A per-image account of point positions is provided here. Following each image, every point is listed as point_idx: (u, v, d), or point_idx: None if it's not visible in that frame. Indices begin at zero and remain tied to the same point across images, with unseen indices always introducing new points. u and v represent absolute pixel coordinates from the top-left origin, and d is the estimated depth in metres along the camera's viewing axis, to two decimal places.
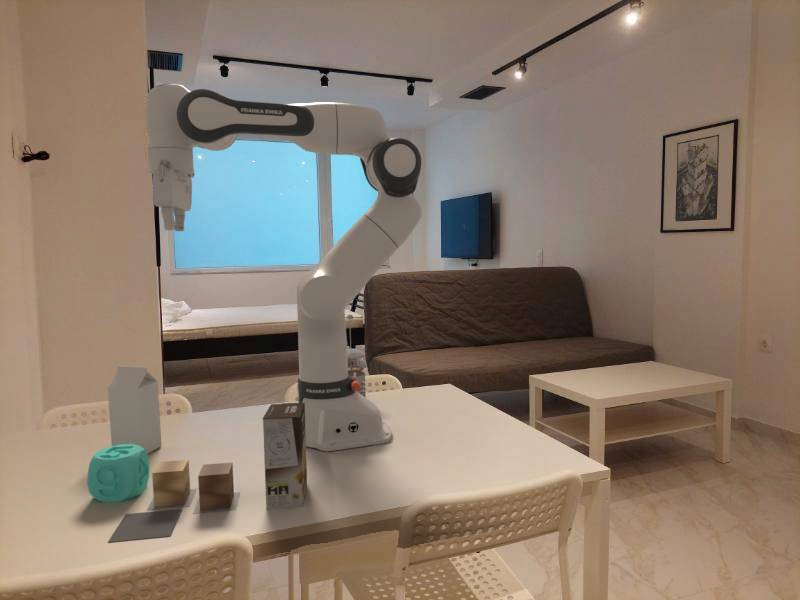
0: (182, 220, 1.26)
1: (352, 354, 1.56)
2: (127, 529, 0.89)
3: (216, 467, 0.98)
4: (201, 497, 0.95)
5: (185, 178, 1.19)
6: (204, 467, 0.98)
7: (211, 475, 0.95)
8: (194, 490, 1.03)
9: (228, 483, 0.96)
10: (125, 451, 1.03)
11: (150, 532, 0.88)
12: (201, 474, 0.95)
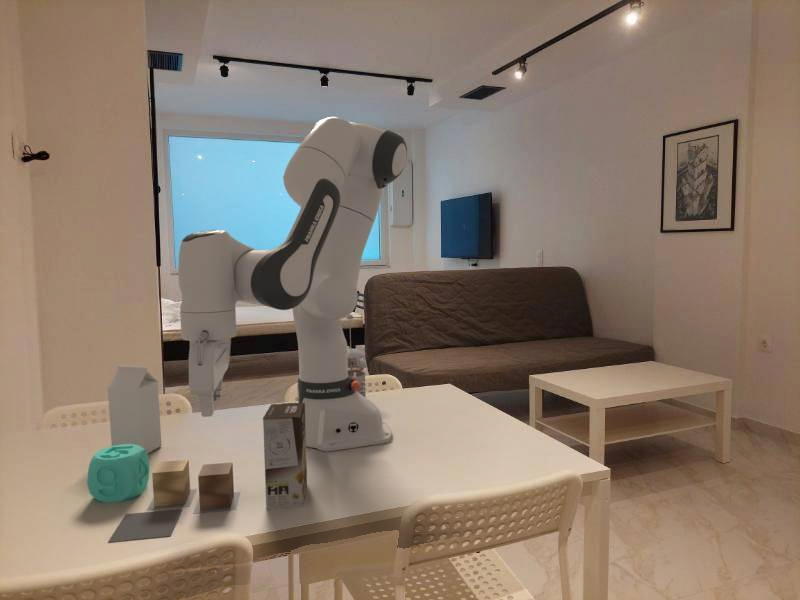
0: (219, 386, 1.01)
1: (352, 354, 1.56)
2: (127, 529, 0.89)
3: (216, 467, 0.98)
4: (201, 497, 0.95)
5: (226, 344, 0.95)
6: (204, 467, 0.98)
7: (211, 475, 0.95)
8: (194, 490, 1.03)
9: (228, 483, 0.96)
10: (125, 451, 1.03)
11: (150, 532, 0.88)
12: (201, 474, 0.95)
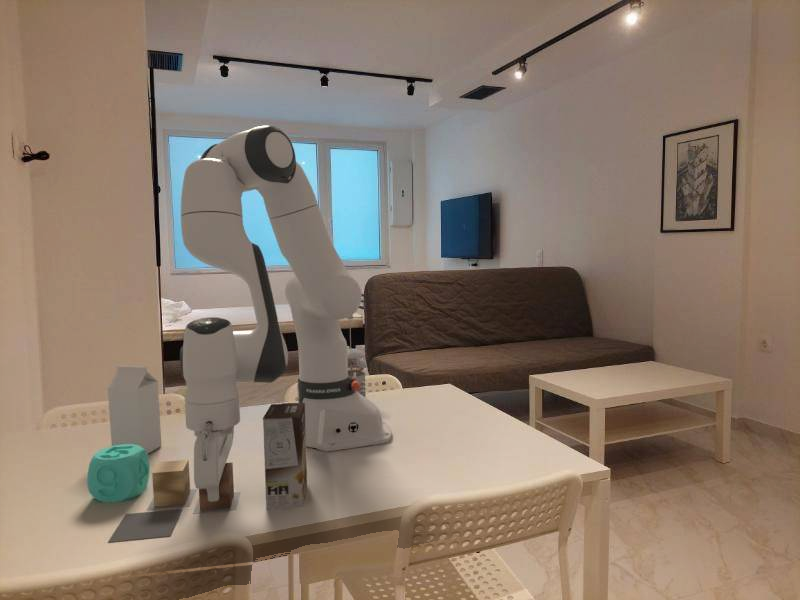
0: None
1: (352, 354, 1.56)
2: (127, 529, 0.89)
3: None
4: (201, 497, 0.95)
5: (230, 431, 0.96)
6: None
7: None
8: (194, 490, 1.03)
9: (228, 483, 0.96)
10: (125, 451, 1.03)
11: (150, 532, 0.88)
12: None
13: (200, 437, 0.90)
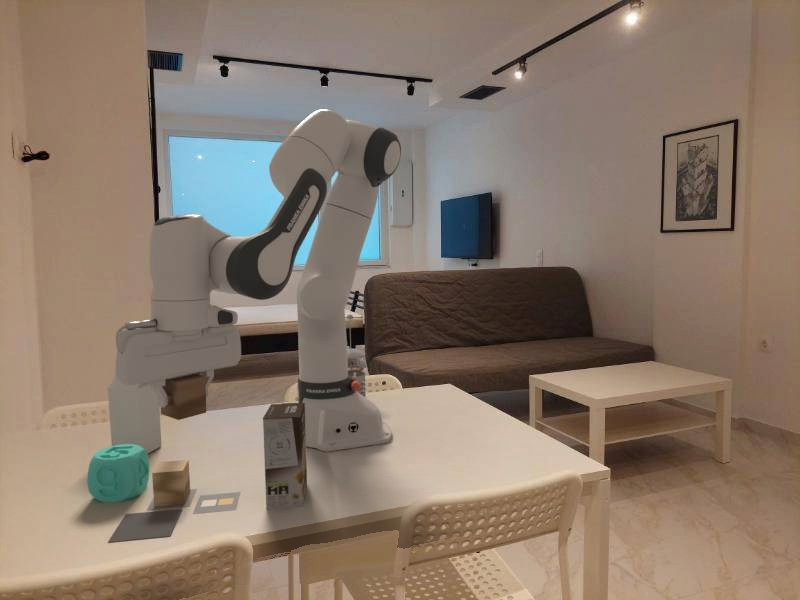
0: None
1: (352, 354, 1.56)
2: (127, 529, 0.89)
3: (187, 376, 0.92)
4: None
5: (185, 337, 0.88)
6: None
7: (166, 380, 0.89)
8: (194, 490, 1.03)
9: (176, 393, 0.88)
10: (125, 451, 1.03)
11: (150, 532, 0.88)
12: None
13: None
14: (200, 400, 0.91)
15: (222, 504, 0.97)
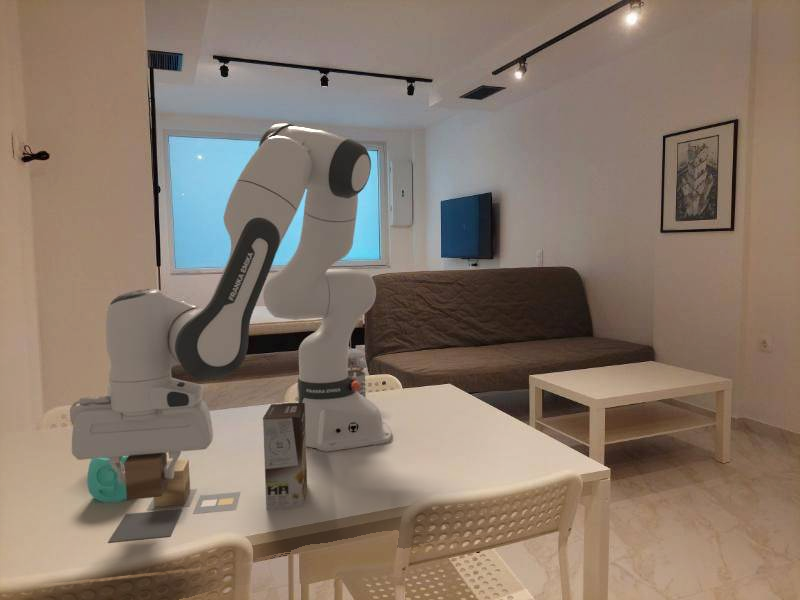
0: None
1: (352, 354, 1.56)
2: (127, 529, 0.89)
3: (151, 454, 0.89)
4: None
5: (130, 418, 0.85)
6: None
7: None
8: (194, 490, 1.03)
9: (125, 472, 0.86)
10: None
11: (150, 532, 0.88)
12: None
13: None
14: (153, 483, 0.87)
15: (222, 504, 0.97)
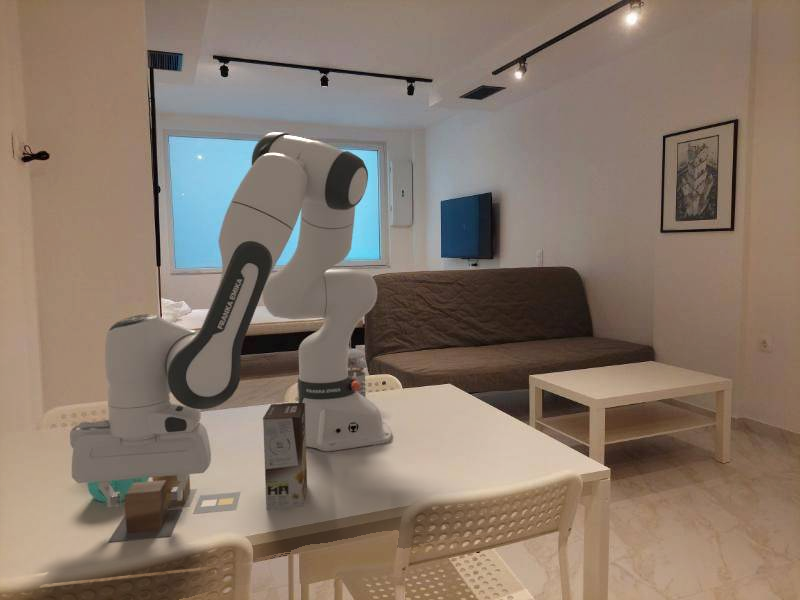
0: (178, 487, 0.90)
1: (352, 354, 1.56)
2: None
3: (151, 487, 0.90)
4: None
5: (128, 443, 0.86)
6: (155, 482, 0.92)
7: None
8: (194, 490, 1.03)
9: (125, 506, 0.88)
10: None
11: (150, 532, 0.88)
12: (136, 483, 0.92)
13: None
14: (153, 517, 0.88)
15: (222, 504, 0.97)
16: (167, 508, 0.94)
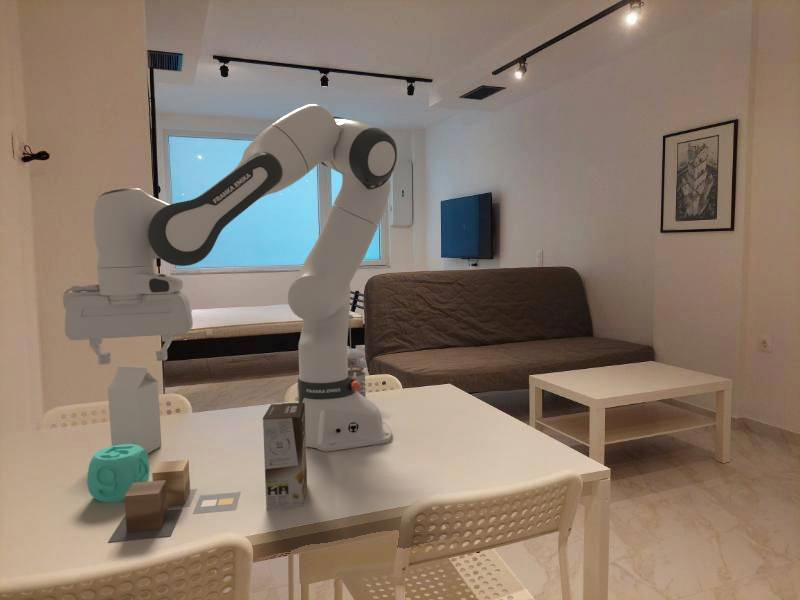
0: (162, 347, 0.99)
1: (352, 354, 1.56)
2: None
3: (151, 487, 0.90)
4: None
5: (116, 302, 0.95)
6: (155, 482, 0.92)
7: None
8: (194, 490, 1.03)
9: (125, 506, 0.88)
10: (125, 451, 1.03)
11: (150, 532, 0.88)
12: (136, 483, 0.92)
13: None
14: (153, 517, 0.88)
15: (222, 504, 0.97)
16: (167, 508, 0.94)
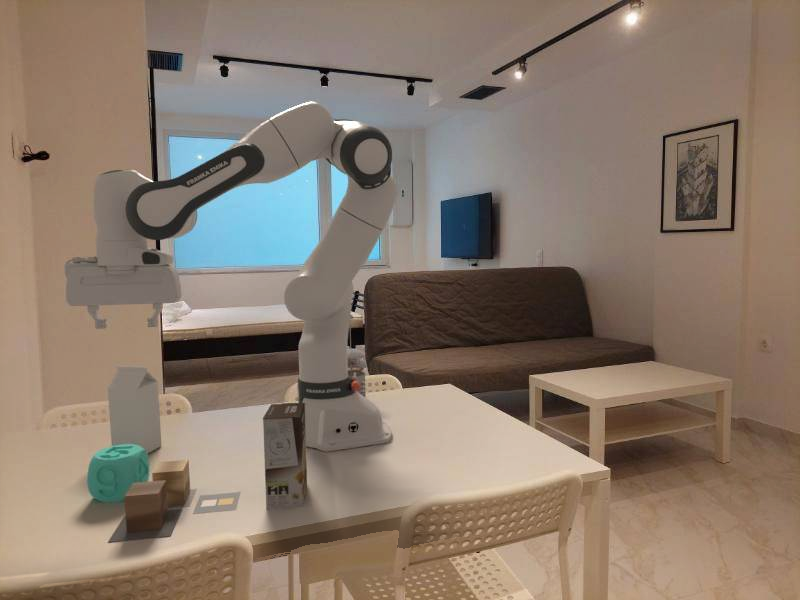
0: (153, 315, 1.10)
1: (352, 354, 1.56)
2: None
3: (151, 487, 0.90)
4: None
5: (112, 272, 1.06)
6: (155, 482, 0.92)
7: None
8: (194, 490, 1.03)
9: (125, 506, 0.88)
10: (125, 451, 1.03)
11: (150, 532, 0.88)
12: (136, 483, 0.92)
13: None
14: (153, 517, 0.88)
15: (222, 504, 0.97)
16: (167, 508, 0.94)
